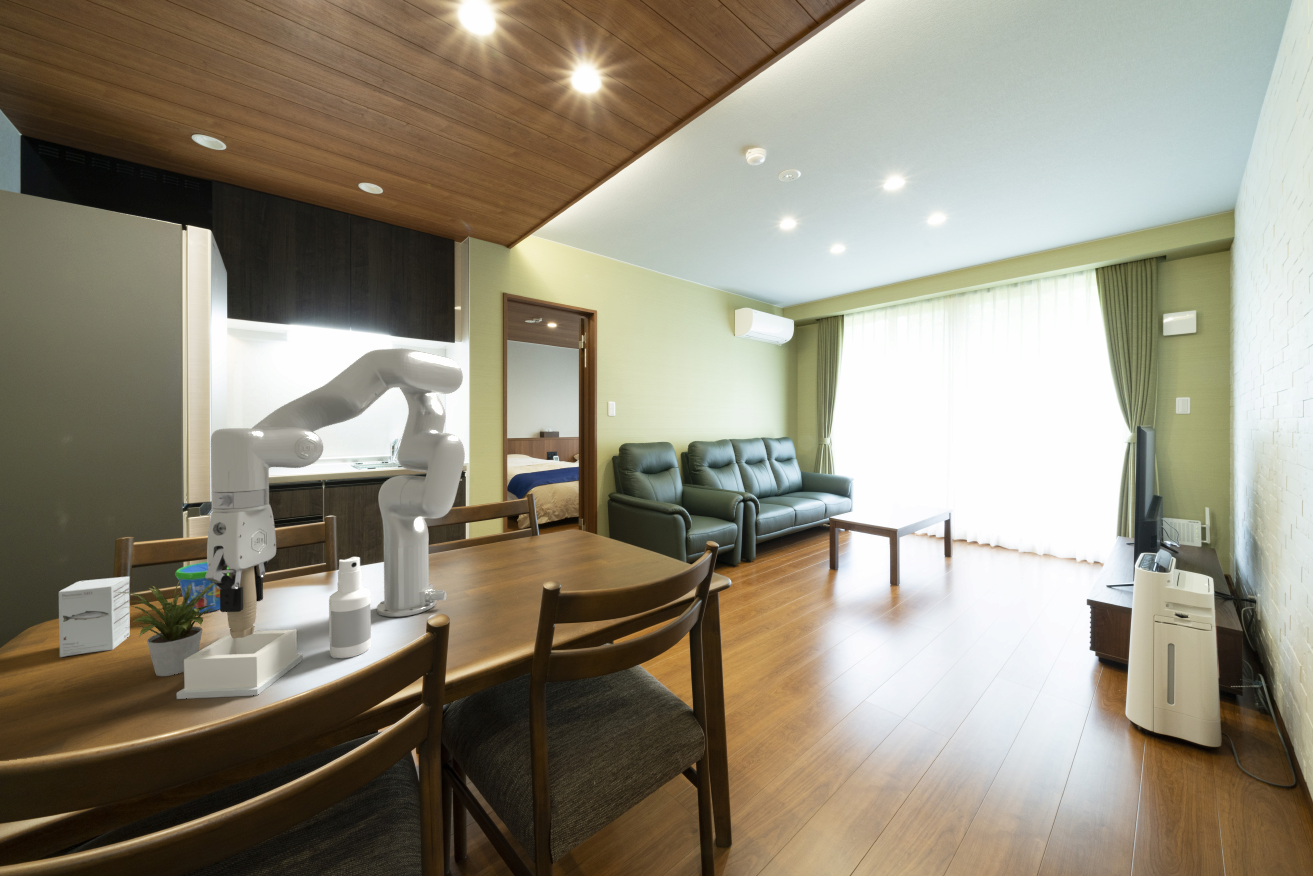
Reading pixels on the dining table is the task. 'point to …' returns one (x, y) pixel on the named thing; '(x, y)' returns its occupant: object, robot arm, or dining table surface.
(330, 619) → the spray bottle
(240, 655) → the box
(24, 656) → the dining table surface
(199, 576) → the snack cup
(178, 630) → the house plant
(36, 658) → the dining table surface
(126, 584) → the supplement box
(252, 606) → the handle
